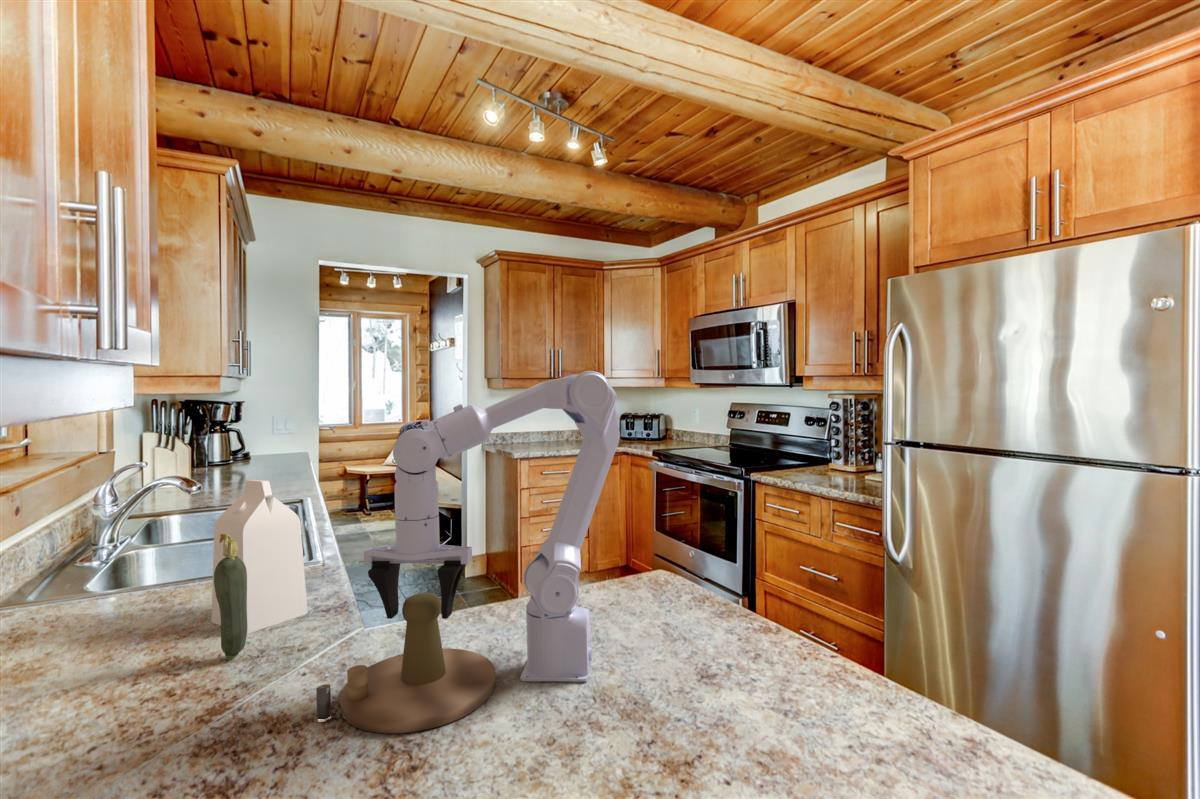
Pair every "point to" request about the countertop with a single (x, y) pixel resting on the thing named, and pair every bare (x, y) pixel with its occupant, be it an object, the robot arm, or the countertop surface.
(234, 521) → the milk
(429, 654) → the olive pawn piece
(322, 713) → the dark gray cylinder
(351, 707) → the disc
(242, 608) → the vegetable
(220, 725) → the countertop surface
